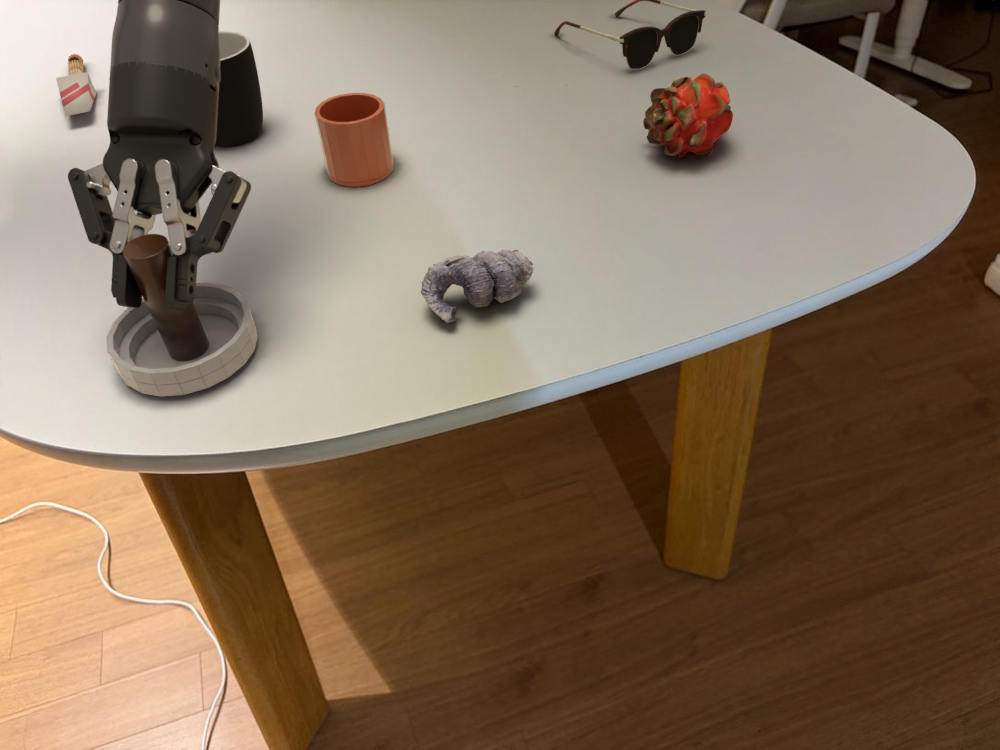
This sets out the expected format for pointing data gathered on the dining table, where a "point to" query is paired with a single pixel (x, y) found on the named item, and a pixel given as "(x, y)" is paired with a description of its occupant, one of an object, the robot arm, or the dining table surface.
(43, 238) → the dining table surface
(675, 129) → the dragon fruit
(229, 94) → the mug
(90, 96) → the churro
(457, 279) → the seashell
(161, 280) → the muddler
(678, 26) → the sunglasses
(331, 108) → the cup
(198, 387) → the dish
